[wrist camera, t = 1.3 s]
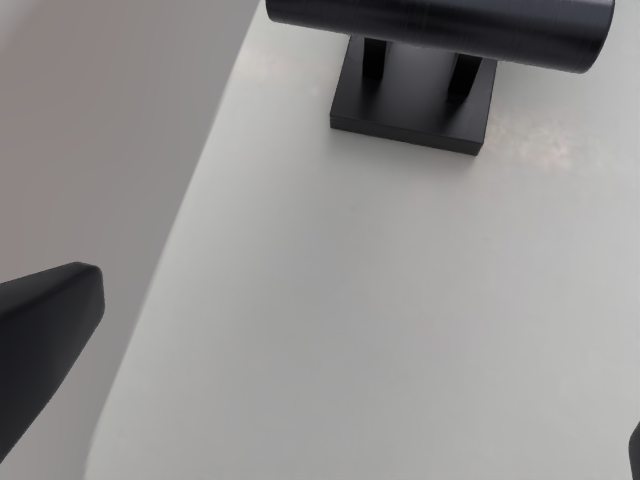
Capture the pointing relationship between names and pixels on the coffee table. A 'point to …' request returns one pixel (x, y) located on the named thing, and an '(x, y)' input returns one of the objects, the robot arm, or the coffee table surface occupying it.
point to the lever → (468, 26)
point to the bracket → (414, 94)
